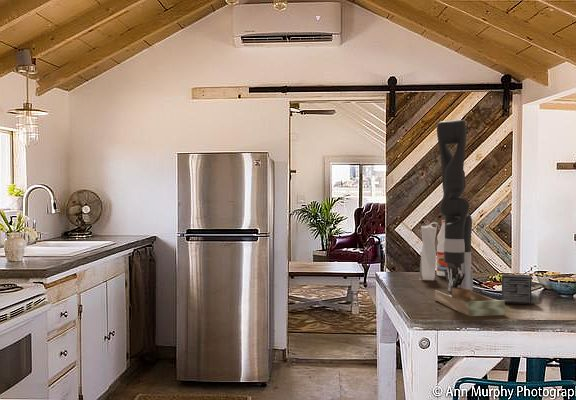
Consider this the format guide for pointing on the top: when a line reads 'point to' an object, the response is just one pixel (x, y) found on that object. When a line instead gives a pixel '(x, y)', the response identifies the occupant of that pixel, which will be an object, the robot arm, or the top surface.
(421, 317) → the top surface
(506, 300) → the small box
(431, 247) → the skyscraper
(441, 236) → the fruit juice
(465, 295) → the walnut block
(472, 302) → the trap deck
